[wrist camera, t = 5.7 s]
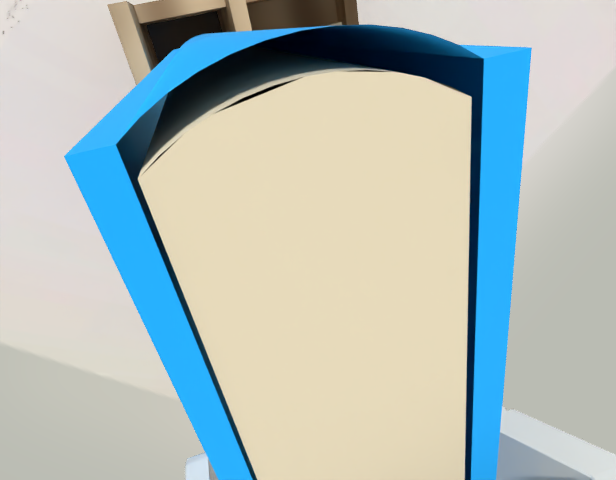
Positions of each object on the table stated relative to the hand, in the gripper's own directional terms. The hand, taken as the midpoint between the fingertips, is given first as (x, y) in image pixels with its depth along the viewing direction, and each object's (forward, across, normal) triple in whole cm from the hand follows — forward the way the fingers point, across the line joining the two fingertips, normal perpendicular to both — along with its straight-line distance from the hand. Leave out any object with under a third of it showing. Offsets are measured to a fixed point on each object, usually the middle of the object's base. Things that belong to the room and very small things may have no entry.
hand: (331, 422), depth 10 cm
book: (+22, 0, 0) cm, 22 cm away
